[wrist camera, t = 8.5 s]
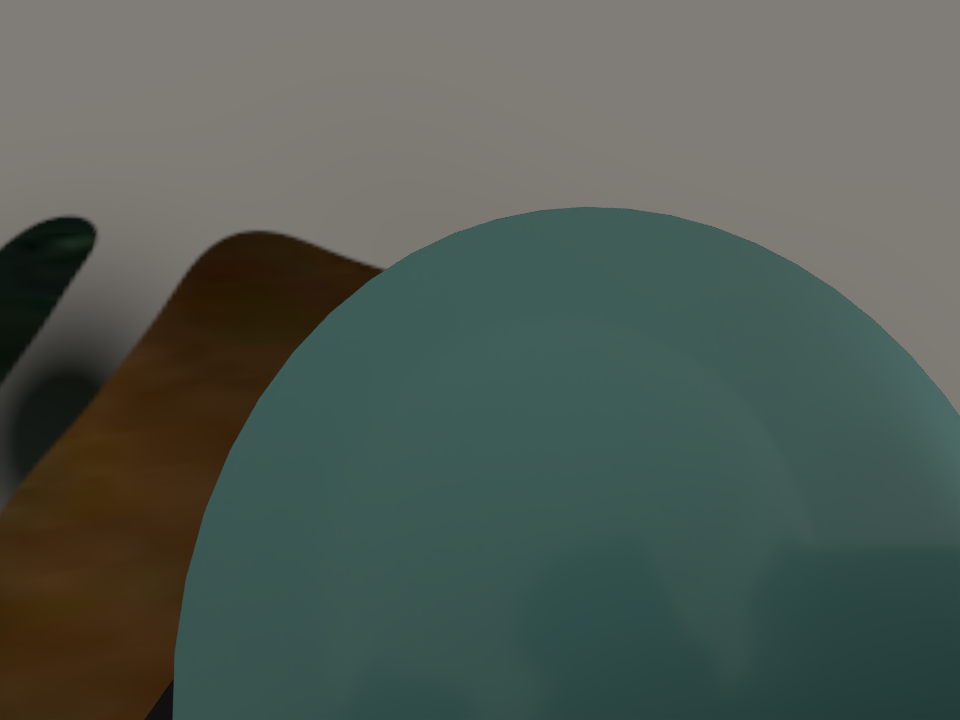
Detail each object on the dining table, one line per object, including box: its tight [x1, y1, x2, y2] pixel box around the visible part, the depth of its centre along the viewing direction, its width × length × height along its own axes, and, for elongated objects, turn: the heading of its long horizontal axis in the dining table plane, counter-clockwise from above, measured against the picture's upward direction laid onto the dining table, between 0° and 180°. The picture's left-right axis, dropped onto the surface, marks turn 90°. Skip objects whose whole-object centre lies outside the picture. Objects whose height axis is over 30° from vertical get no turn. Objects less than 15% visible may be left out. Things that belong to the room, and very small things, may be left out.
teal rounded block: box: [173, 207, 960, 720], centre depth 9 cm, size 6×6×13 cm
